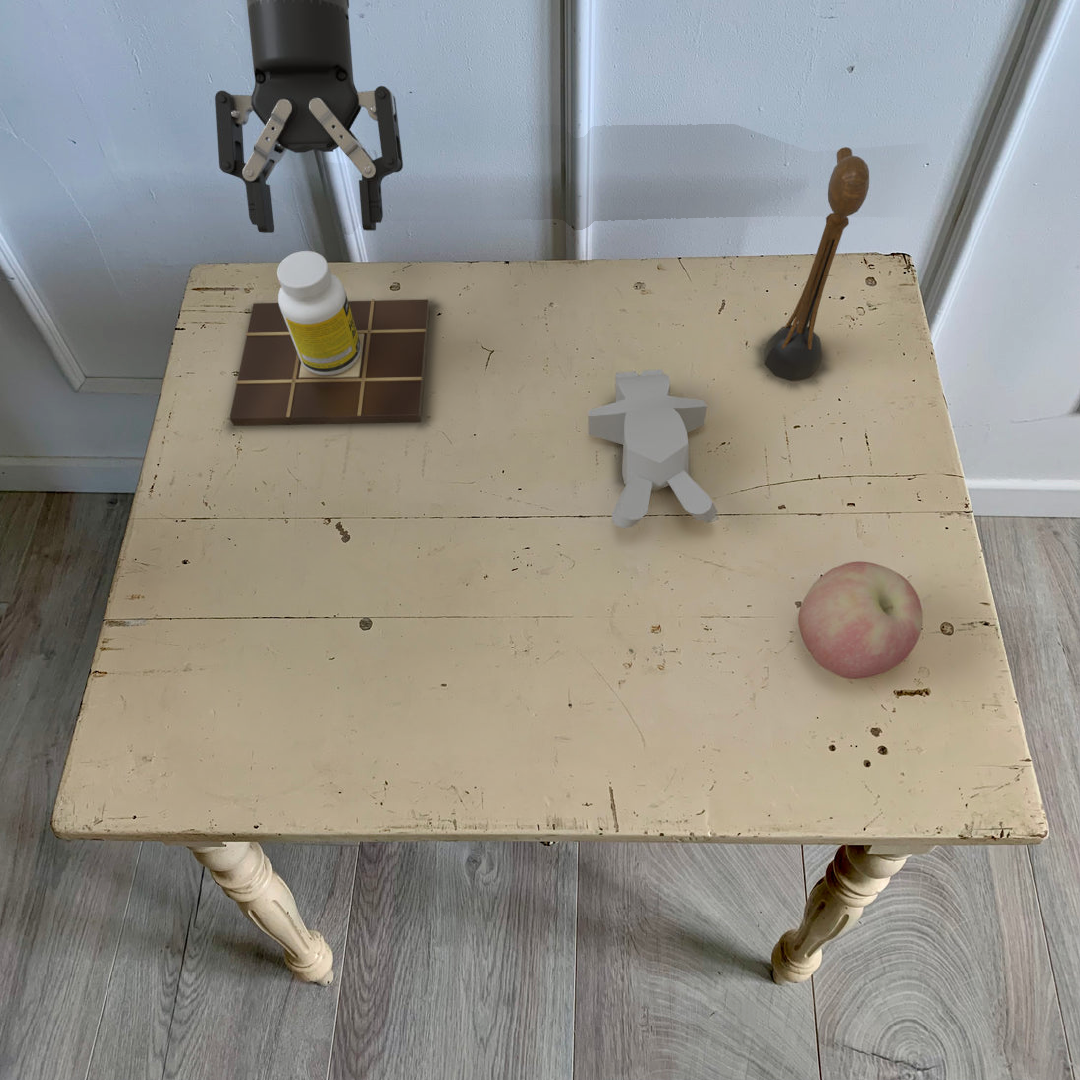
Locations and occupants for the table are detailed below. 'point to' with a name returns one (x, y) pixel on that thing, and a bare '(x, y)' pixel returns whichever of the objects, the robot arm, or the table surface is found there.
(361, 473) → the table surface
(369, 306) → the board
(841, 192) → the wooden tabletop sculpture
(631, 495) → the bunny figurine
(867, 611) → the apple
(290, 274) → the supplement bottle
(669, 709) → the table surface
